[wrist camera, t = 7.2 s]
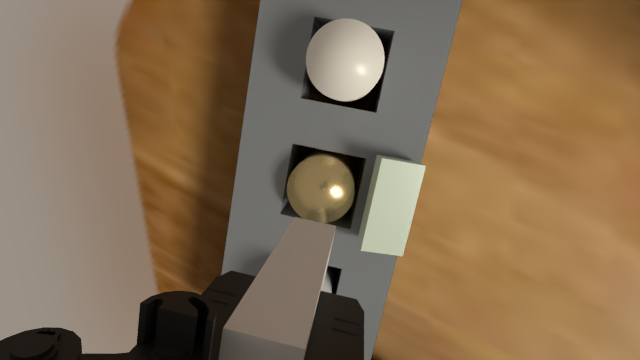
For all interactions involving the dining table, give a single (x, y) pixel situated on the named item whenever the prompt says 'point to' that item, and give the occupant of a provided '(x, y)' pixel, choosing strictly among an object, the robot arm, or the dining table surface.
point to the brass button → (322, 186)
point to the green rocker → (390, 205)
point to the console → (333, 130)
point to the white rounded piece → (345, 59)
